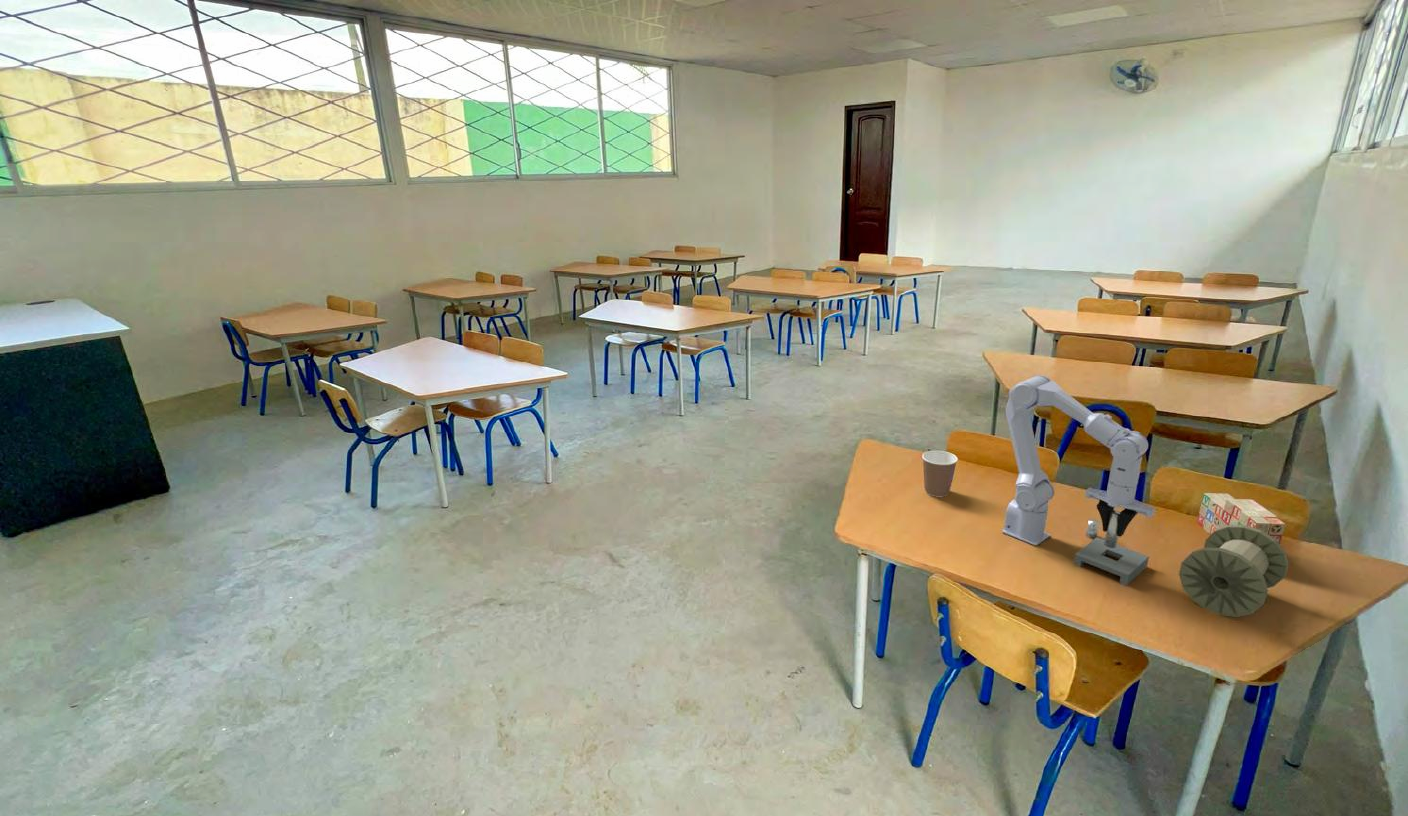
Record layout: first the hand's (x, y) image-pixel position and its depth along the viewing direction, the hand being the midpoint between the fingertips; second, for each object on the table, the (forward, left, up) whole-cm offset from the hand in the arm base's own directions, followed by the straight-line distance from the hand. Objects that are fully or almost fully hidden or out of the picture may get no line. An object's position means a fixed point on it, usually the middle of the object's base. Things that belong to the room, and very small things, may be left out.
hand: (1113, 532), depth 157 cm
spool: (+22, +7, -10) cm, 25 cm away
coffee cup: (-51, +4, -10) cm, 52 cm away
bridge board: (0, +1, -10) cm, 10 cm away
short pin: (-9, +12, -10) cm, 17 cm away
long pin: (0, 0, -4) cm, 4 cm away
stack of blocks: (+16, +34, -10) cm, 39 cm away
